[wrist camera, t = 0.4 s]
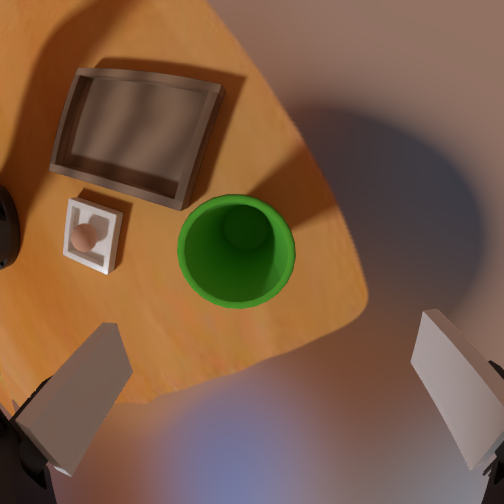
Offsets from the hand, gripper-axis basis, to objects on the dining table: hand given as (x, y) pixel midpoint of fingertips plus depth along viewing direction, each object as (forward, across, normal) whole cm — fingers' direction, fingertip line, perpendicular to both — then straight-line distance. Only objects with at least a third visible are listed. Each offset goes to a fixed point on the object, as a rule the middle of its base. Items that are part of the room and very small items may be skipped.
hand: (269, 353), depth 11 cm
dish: (+22, -23, +2) cm, 32 cm away
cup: (+22, -3, +1) cm, 22 cm away
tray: (+22, -16, +14) cm, 30 cm away
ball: (+21, -23, +2) cm, 31 cm away
